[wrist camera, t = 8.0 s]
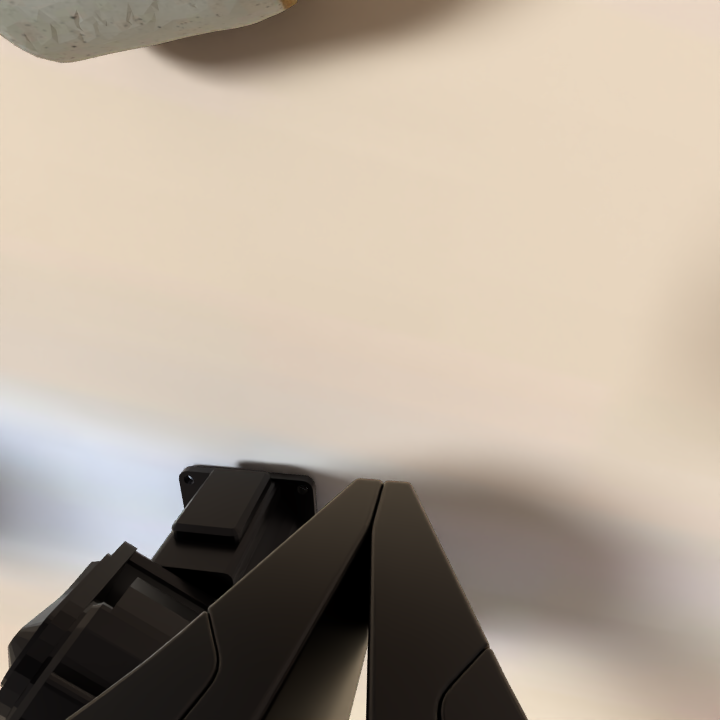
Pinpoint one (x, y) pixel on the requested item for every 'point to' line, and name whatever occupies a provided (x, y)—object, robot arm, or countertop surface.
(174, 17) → the ceramic mug
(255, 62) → the countertop surface
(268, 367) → the countertop surface
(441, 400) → the countertop surface
